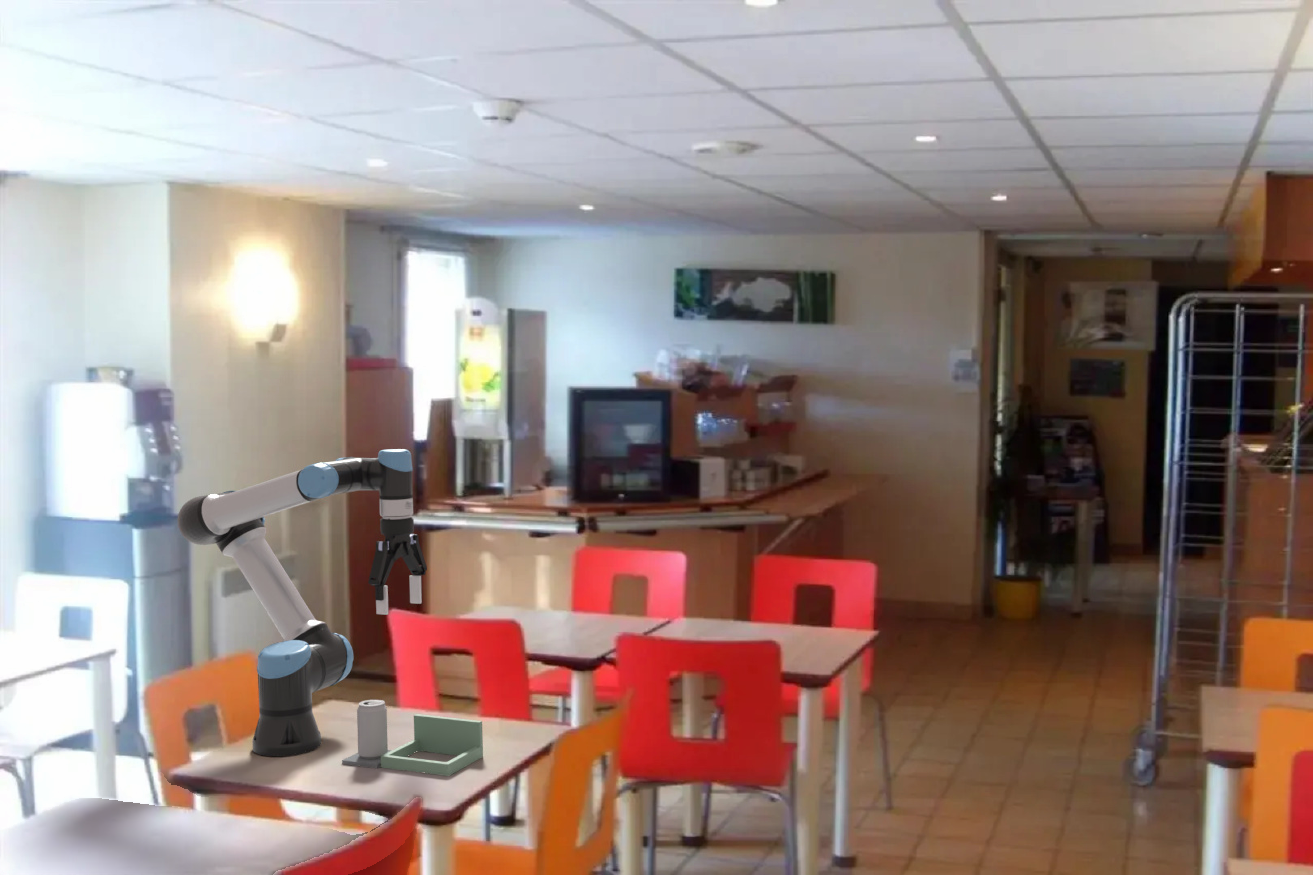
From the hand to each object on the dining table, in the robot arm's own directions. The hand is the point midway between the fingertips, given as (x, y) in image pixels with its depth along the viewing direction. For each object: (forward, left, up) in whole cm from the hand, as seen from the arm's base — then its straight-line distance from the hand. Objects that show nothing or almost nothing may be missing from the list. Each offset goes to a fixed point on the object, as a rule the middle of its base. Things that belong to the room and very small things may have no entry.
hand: (399, 608), depth 310 cm
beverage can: (+2, -15, -30) cm, 34 cm away
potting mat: (+2, -15, -31) cm, 34 cm away
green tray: (+15, -12, -31) cm, 36 cm away
